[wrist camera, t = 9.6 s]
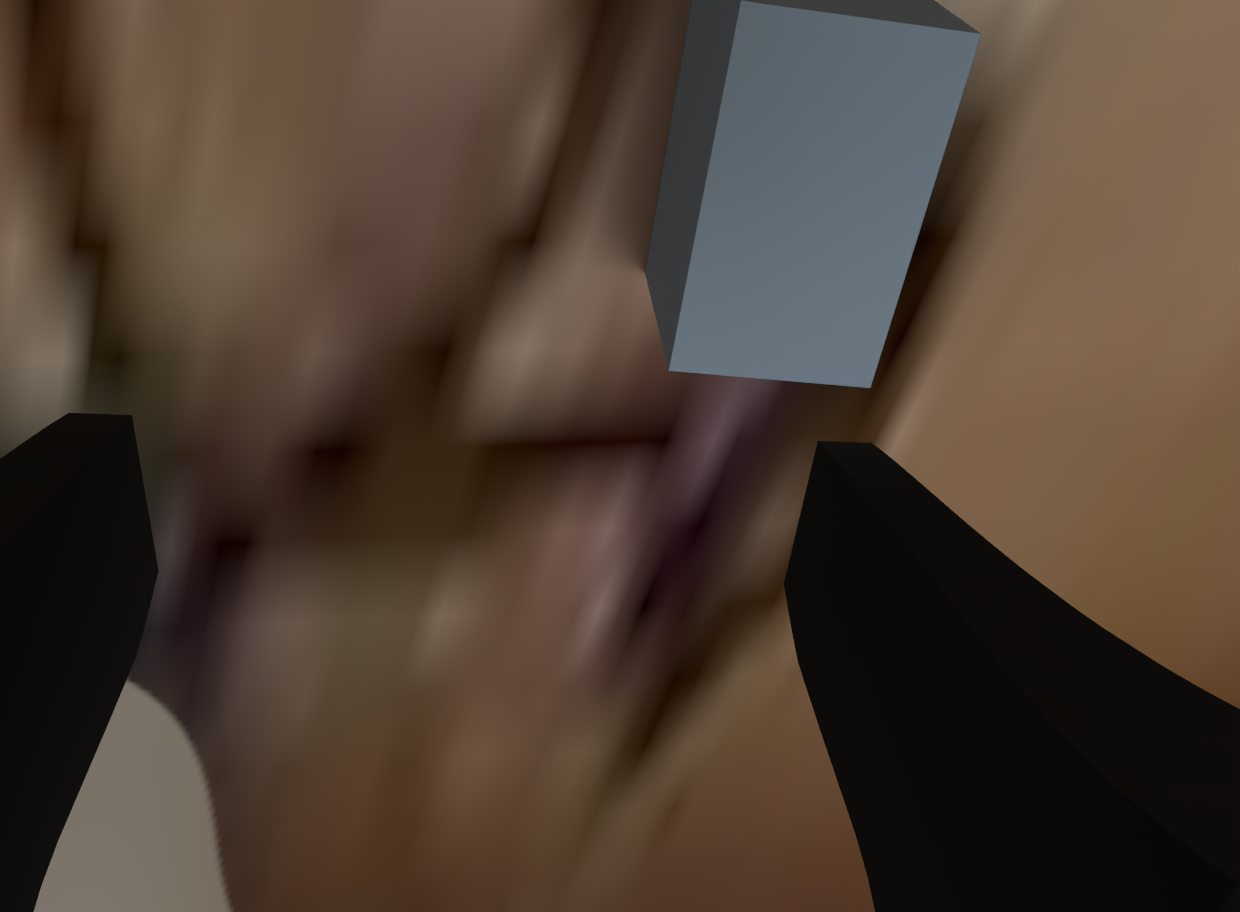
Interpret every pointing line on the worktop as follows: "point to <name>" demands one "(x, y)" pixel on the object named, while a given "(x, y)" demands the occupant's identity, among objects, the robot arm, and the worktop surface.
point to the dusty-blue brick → (799, 181)
